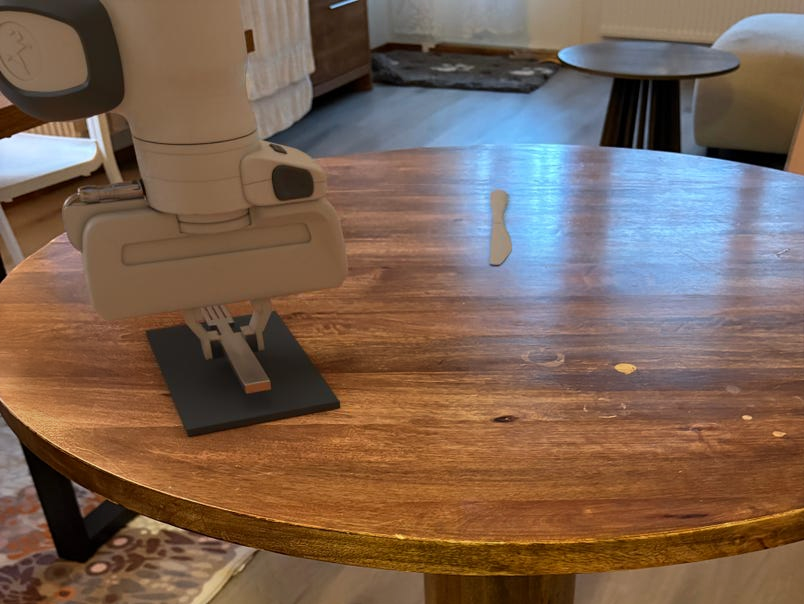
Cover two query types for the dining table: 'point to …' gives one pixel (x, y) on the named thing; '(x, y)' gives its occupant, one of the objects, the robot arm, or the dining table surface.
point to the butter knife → (499, 229)
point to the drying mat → (220, 388)
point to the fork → (237, 351)
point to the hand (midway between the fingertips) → (234, 353)
